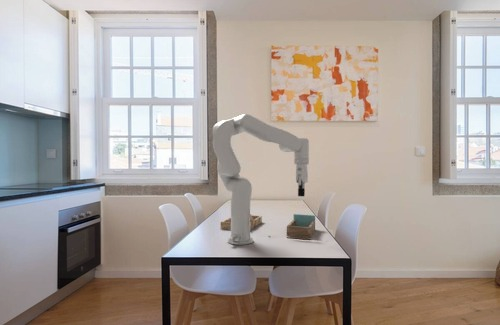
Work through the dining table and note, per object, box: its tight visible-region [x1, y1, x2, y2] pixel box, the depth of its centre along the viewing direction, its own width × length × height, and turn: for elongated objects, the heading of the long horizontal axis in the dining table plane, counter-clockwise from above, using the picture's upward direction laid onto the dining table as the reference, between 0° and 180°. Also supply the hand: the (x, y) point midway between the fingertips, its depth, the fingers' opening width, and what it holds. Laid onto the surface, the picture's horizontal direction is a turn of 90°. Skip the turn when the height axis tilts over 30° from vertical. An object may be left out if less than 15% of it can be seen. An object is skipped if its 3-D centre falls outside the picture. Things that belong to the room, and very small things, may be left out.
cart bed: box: [286, 219, 316, 241], centre depth 162 cm, size 18×12×6 cm
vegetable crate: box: [220, 214, 263, 231], centre depth 185 cm, size 26×17×4 cm, turn 161°
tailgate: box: [293, 213, 316, 227], centre depth 171 cm, size 1×12×8 cm, turn 71°
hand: (301, 196), depth 161 cm, fingers closed
